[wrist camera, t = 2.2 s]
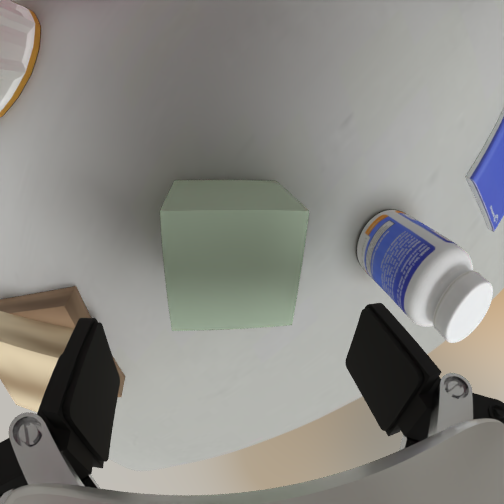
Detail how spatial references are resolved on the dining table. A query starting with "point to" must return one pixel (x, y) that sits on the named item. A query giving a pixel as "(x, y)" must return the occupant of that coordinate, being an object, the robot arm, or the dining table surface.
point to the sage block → (231, 253)
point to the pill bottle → (424, 274)
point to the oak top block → (29, 356)
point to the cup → (16, 50)
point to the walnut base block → (53, 311)
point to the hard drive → (490, 177)
